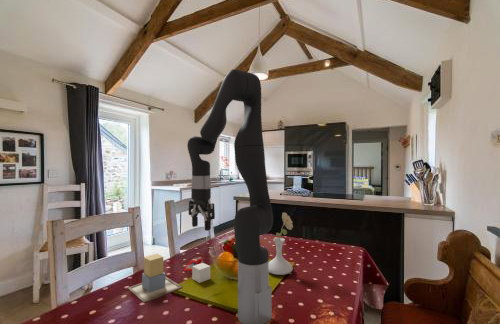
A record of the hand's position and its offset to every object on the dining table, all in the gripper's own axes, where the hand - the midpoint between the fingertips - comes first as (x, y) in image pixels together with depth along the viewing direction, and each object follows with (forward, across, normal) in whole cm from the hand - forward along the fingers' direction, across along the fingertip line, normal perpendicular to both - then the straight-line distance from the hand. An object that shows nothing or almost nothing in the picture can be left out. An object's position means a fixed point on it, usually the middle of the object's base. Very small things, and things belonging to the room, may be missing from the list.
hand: (201, 228), depth 99 cm
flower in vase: (+21, +17, +29) cm, 40 cm away
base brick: (+20, -7, -16) cm, 26 cm away
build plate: (+21, -6, -16) cm, 27 cm away
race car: (+21, -12, +5) cm, 25 cm away
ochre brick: (+15, -7, -16) cm, 23 cm away
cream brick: (+21, 0, 0) cm, 21 cm away
